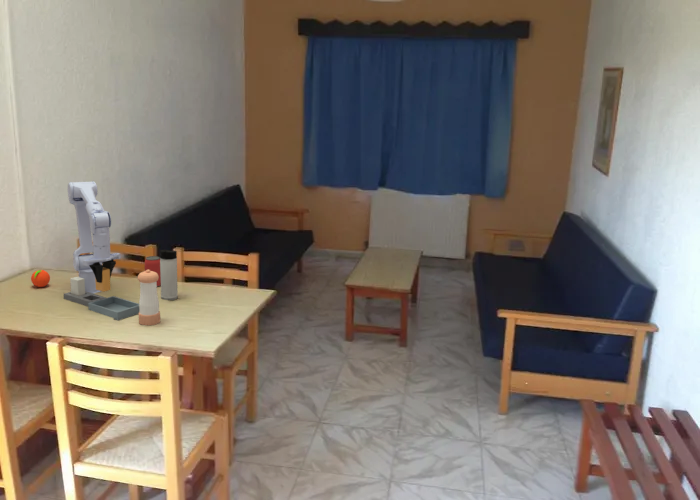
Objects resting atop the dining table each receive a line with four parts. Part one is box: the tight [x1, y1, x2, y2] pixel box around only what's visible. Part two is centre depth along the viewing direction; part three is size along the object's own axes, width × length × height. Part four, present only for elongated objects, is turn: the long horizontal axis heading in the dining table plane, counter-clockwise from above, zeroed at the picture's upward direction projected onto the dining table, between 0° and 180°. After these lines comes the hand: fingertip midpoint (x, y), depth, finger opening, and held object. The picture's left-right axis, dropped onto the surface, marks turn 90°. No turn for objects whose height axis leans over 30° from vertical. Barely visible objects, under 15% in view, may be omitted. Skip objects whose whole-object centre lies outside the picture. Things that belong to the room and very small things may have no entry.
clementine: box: [30, 269, 51, 288], centre depth 252 cm, size 8×7×7 cm
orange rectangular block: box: [95, 267, 111, 292], centre depth 230 cm, size 3×4×8 cm
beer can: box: [144, 255, 161, 287], centre depth 261 cm, size 7×7×12 cm
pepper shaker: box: [137, 270, 161, 326], centre depth 219 cm, size 7×7×19 cm
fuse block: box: [63, 291, 107, 307], centre depth 238 cm, size 7×16×2 cm, turn 58°
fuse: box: [69, 276, 85, 296], centre depth 239 cm, size 3×4×8 cm
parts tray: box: [87, 295, 140, 321], centre depth 229 cm, size 11×16×3 cm
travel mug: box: [159, 249, 179, 301], centre depth 244 cm, size 6×7×20 cm
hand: (103, 281), depth 230 cm, fingers closed on orange rectangular block, 3 cm apart
